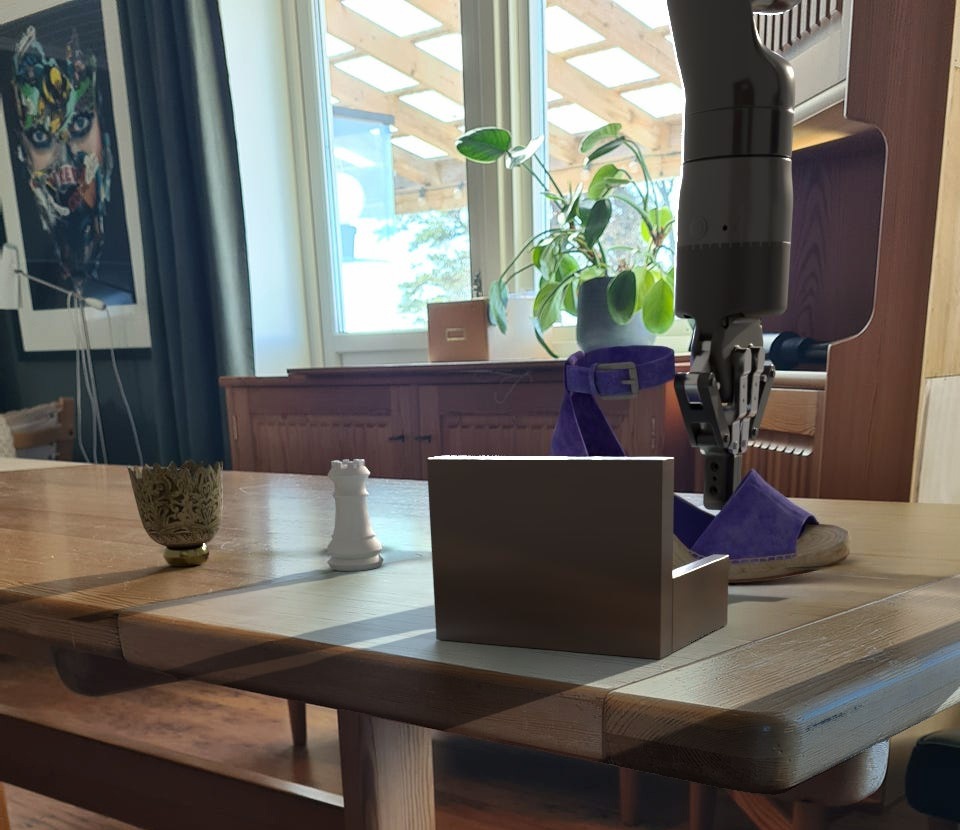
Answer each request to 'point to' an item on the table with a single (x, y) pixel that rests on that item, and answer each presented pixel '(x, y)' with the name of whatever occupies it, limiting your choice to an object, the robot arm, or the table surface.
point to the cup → (180, 508)
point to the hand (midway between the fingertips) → (721, 508)
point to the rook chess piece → (352, 520)
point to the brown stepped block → (566, 556)
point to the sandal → (696, 533)
